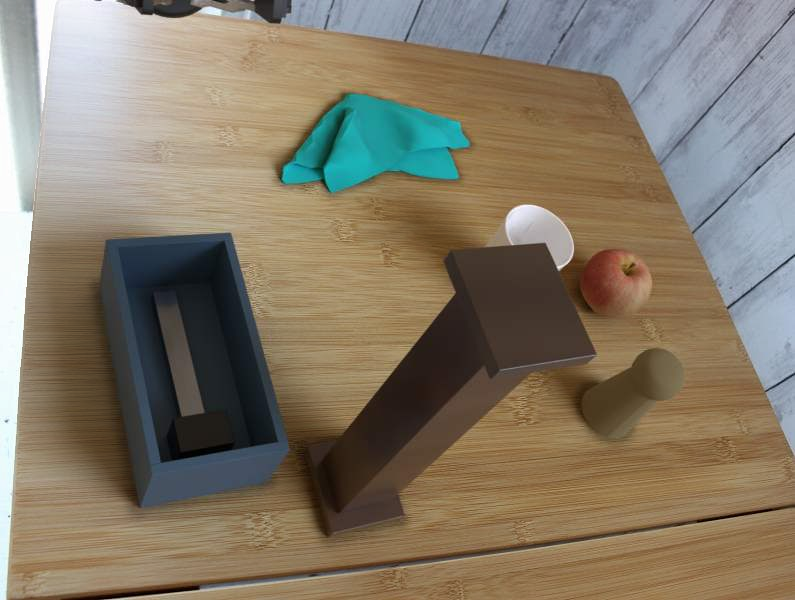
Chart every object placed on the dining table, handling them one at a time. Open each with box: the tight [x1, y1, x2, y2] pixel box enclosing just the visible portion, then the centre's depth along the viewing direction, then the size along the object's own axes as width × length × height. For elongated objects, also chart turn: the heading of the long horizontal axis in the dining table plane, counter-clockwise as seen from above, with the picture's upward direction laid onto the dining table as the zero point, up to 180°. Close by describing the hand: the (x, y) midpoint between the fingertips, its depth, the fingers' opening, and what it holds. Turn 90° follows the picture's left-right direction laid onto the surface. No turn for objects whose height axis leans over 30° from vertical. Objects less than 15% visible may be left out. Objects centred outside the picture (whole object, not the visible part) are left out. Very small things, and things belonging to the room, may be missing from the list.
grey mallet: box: [151, 290, 235, 461], centre depth 71 cm, size 16×4×4 cm, turn 20°
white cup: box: [484, 203, 575, 272], centre depth 88 cm, size 8×8×10 cm
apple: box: [579, 248, 653, 320], centre depth 94 cm, size 8×8×8 cm
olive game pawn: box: [580, 347, 686, 440], centre depth 84 cm, size 6×6×11 cm
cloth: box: [281, 93, 471, 194], centre depth 96 cm, size 26×14×2 cm, turn 112°
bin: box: [98, 232, 291, 509], centre depth 70 cm, size 21×11×8 cm, turn 19°
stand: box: [303, 243, 598, 539], centre depth 61 cm, size 8×7×32 cm
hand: (215, 3), depth 54 cm, fingers open, 8 cm apart
